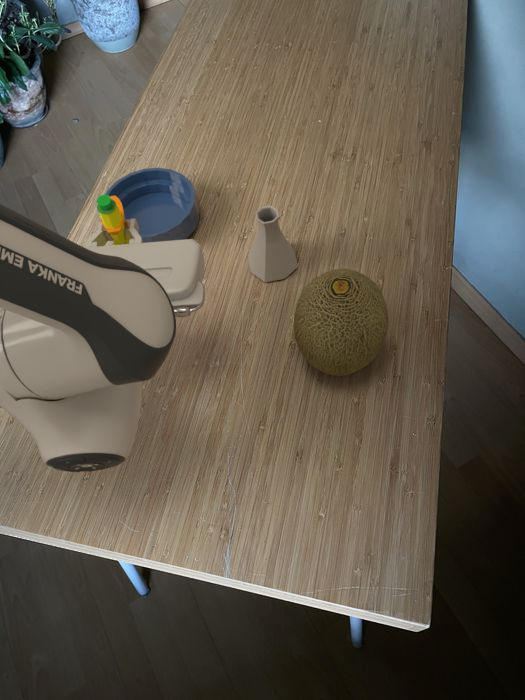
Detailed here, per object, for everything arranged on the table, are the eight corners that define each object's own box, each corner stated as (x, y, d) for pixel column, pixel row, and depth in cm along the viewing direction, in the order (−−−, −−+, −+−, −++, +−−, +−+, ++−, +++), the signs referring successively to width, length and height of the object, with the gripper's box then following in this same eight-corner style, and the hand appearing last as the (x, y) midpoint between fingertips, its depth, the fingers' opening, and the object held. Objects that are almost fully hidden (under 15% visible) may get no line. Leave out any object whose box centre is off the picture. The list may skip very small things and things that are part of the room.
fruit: (299, 315, 80) (295, 242, 68) (383, 319, 79) (395, 245, 66) (292, 390, 75) (286, 325, 62) (382, 395, 73) (395, 330, 60)
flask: (239, 256, 87) (230, 207, 78) (283, 236, 88) (278, 186, 79) (262, 290, 83) (255, 243, 75) (306, 269, 84) (305, 220, 76)
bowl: (105, 261, 89) (95, 241, 85) (114, 193, 96) (106, 172, 92) (199, 253, 88) (193, 233, 84) (201, 185, 95) (196, 163, 91)
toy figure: (117, 246, 76) (86, 175, 66) (144, 241, 76) (118, 169, 66) (120, 287, 72) (88, 219, 62) (148, 282, 72) (121, 212, 62)
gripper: (198, 296, 59) (202, 196, 66) (-2, 311, 60) (23, 211, 67) (209, 331, 64) (211, 235, 71) (25, 343, 65) (46, 248, 72)
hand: (119, 223), depth 69 cm, fingers closed on toy figure
